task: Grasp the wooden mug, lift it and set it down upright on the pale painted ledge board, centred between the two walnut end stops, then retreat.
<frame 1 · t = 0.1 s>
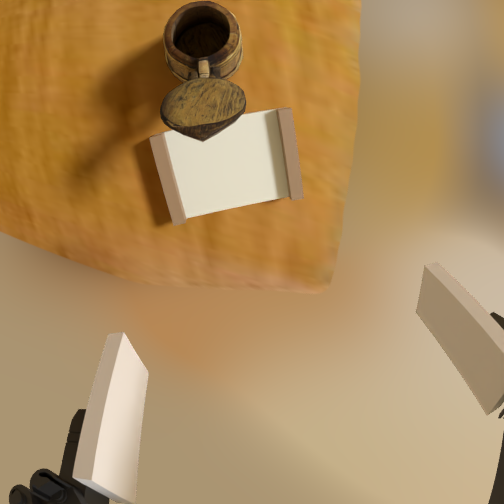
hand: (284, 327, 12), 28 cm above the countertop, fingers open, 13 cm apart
wooden mug: (204, 68, 30), on the countertop
ledge board: (228, 161, 36), on the countertop
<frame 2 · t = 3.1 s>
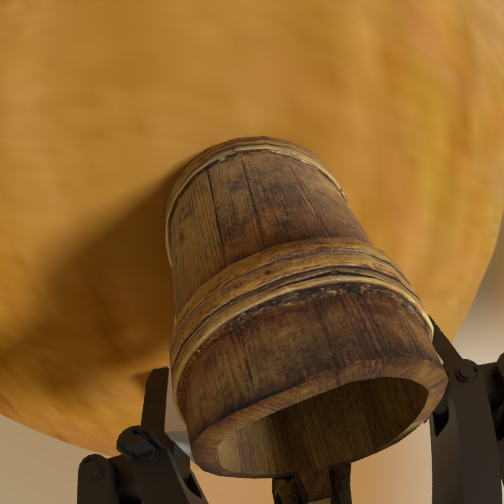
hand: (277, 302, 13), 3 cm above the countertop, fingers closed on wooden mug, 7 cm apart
wooden mug: (257, 264, 16), on the countertop, touching gripper
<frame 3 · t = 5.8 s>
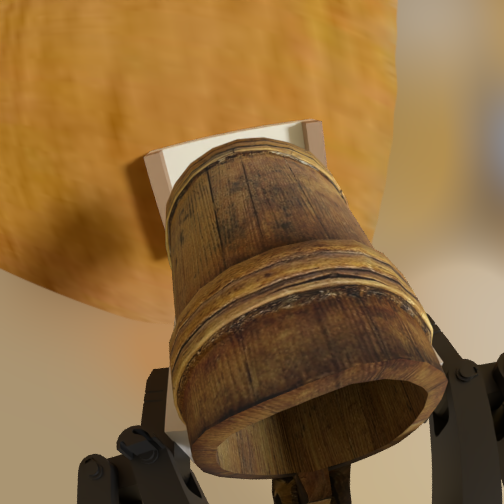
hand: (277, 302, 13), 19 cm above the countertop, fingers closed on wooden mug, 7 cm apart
wooden mug: (257, 264, 16), point 15 cm above the countertop, touching gripper
ledge board: (241, 185, 30), on the countertop
when the fingers open (6 cm above the countertop, at t = 8.4 s): wooden mug drops 1 cm, resting on ledge board.
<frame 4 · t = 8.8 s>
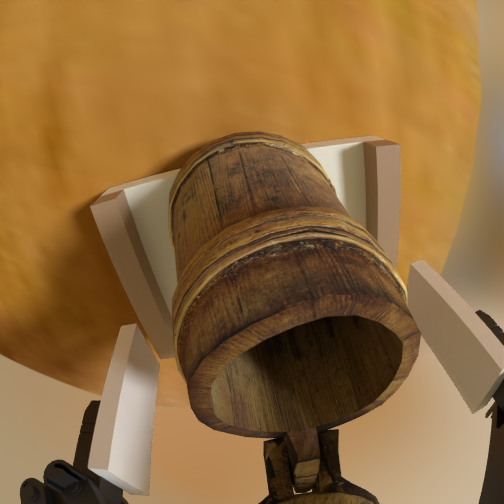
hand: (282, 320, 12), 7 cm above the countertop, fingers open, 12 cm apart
wooden mug: (253, 250, 18), point 1 cm above the countertop, touching ledge board
ledge board: (258, 241, 19), on the countertop
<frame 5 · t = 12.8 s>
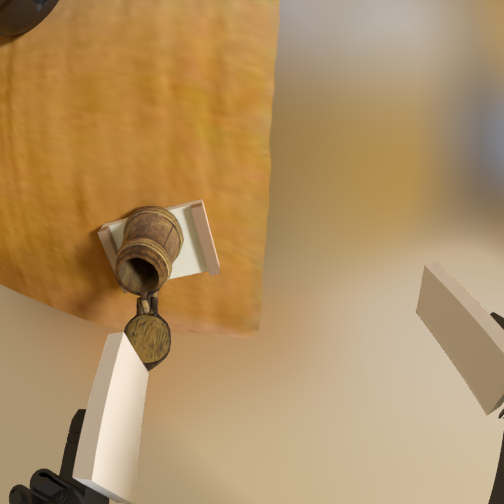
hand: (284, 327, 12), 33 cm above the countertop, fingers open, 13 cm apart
wooden mug: (156, 247, 44), point 1 cm above the countertop, touching ledge board
ledge board: (160, 244, 45), on the countertop
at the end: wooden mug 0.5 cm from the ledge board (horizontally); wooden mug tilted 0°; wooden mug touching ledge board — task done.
